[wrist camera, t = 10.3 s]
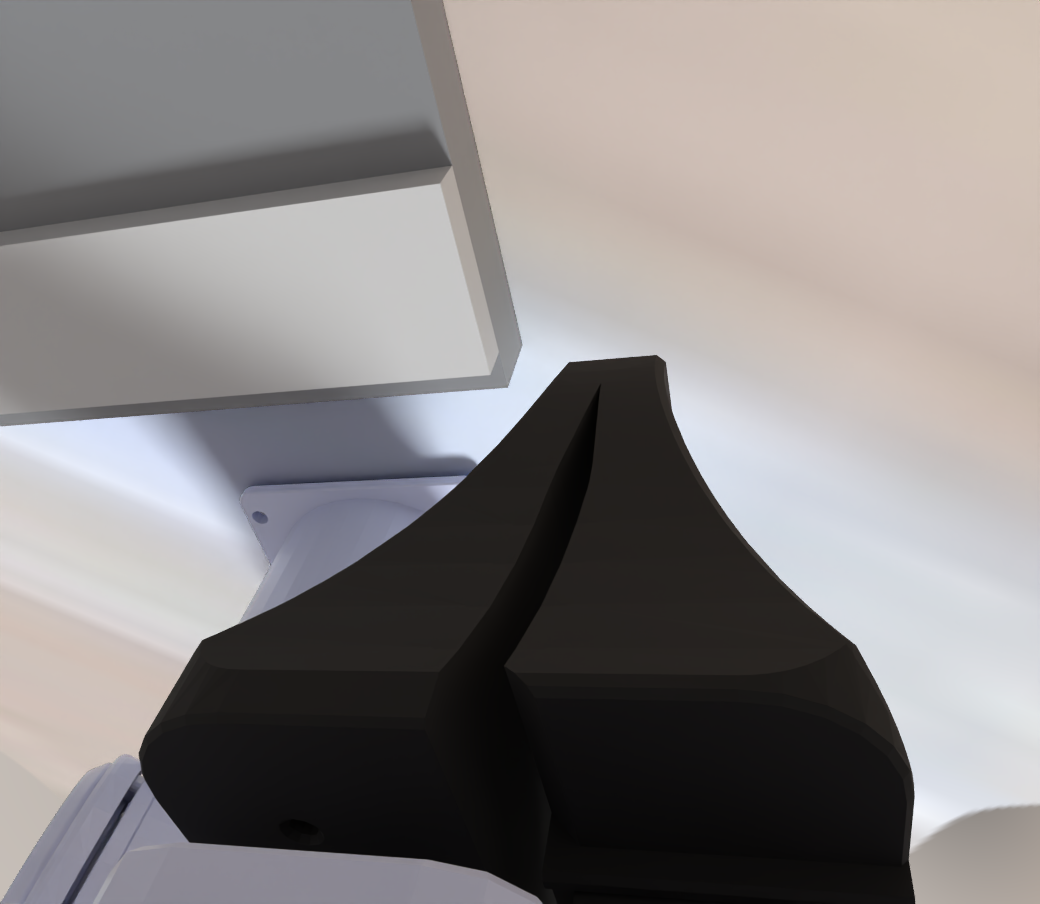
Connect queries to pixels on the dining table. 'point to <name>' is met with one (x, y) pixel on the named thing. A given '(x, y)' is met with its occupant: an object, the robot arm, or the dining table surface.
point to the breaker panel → (239, 209)
